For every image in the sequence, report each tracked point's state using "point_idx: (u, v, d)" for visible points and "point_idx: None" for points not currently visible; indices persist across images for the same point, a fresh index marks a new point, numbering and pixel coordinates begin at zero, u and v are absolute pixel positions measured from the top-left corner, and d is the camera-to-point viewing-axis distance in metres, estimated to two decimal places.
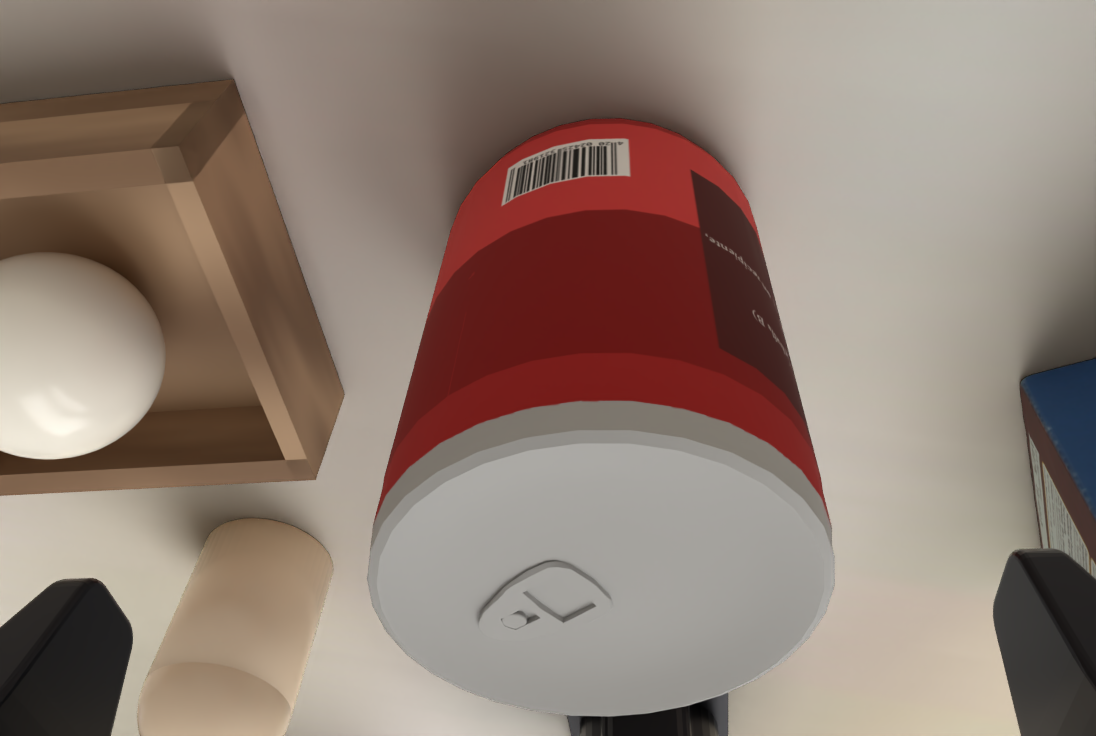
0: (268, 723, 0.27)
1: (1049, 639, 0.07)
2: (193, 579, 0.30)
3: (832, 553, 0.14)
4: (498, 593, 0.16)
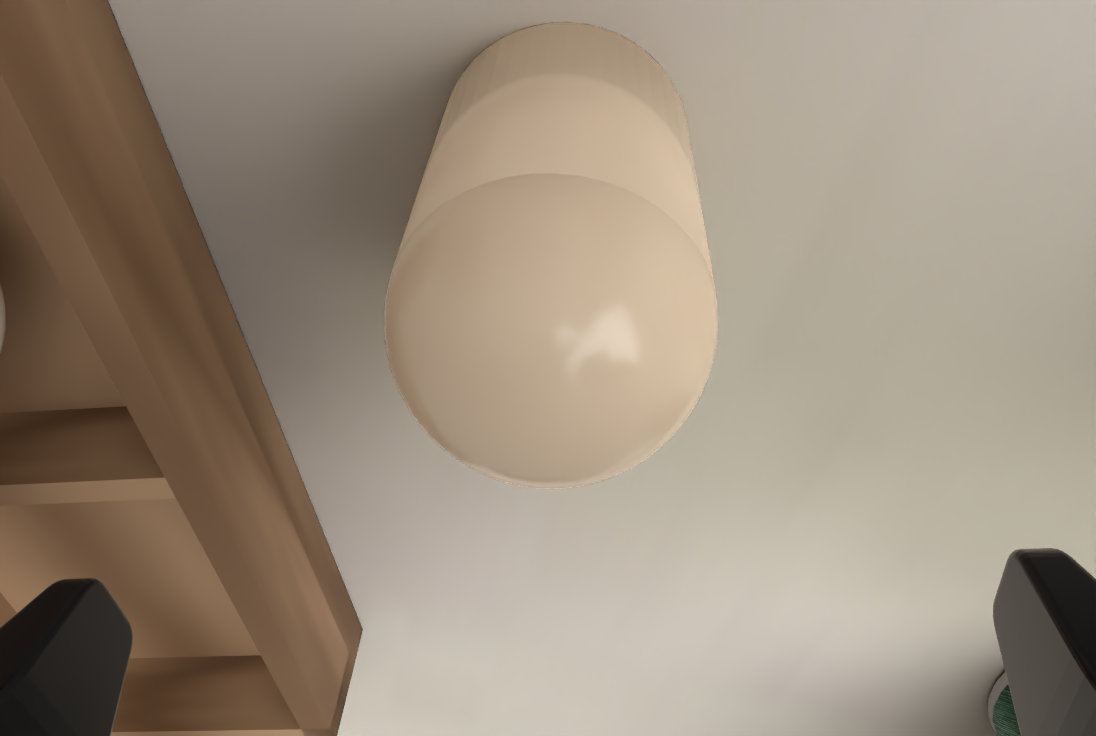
0: (496, 229, 0.11)
1: (1049, 638, 0.07)
2: None
3: None
4: None
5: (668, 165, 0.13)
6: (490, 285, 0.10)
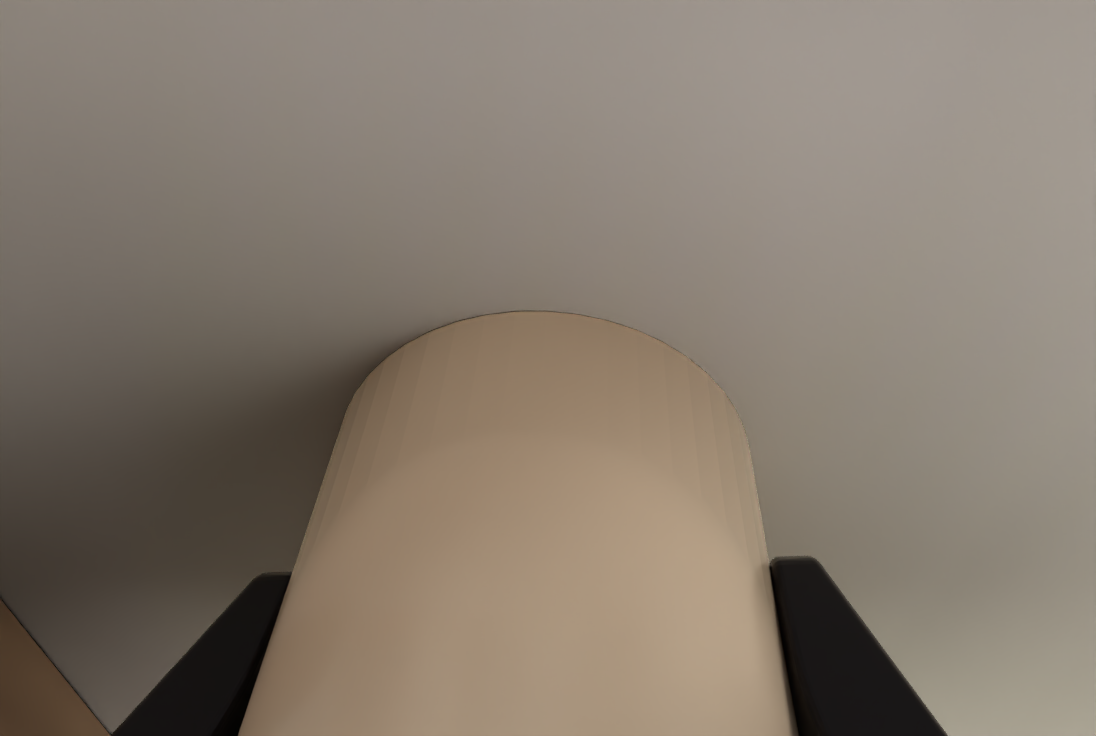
0: None
1: (785, 644, 0.08)
2: None
3: None
4: None
5: None
6: None
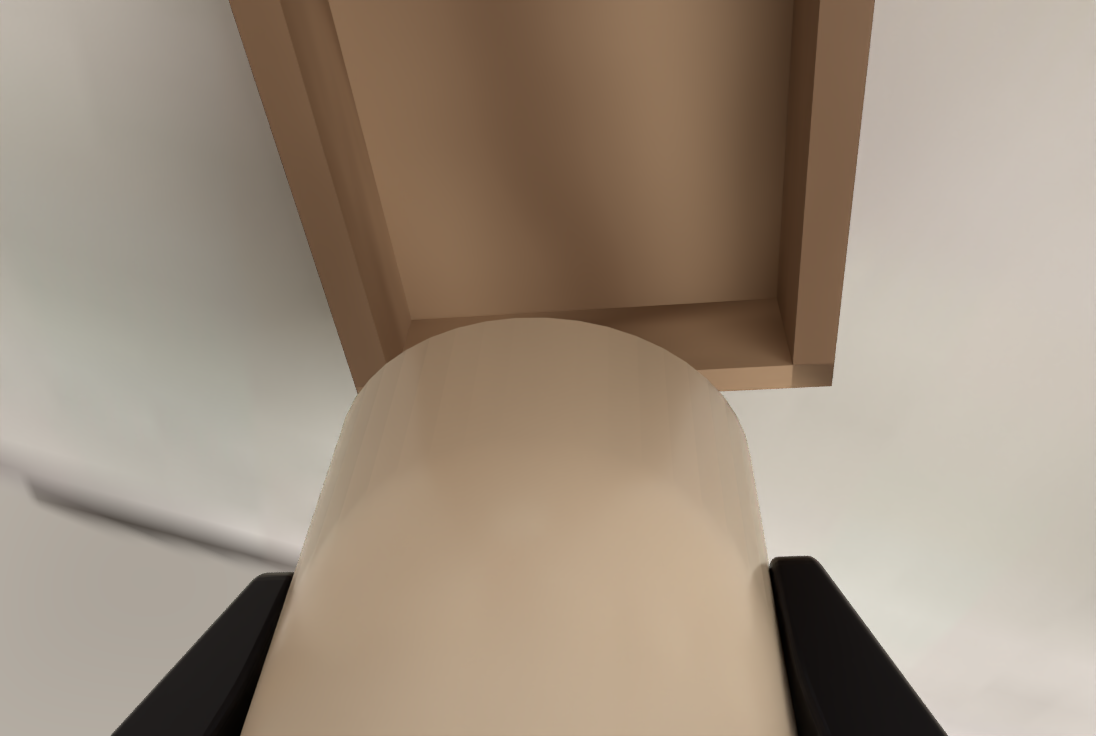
0: None
1: (786, 644, 0.08)
2: None
3: None
4: None
5: None
6: None
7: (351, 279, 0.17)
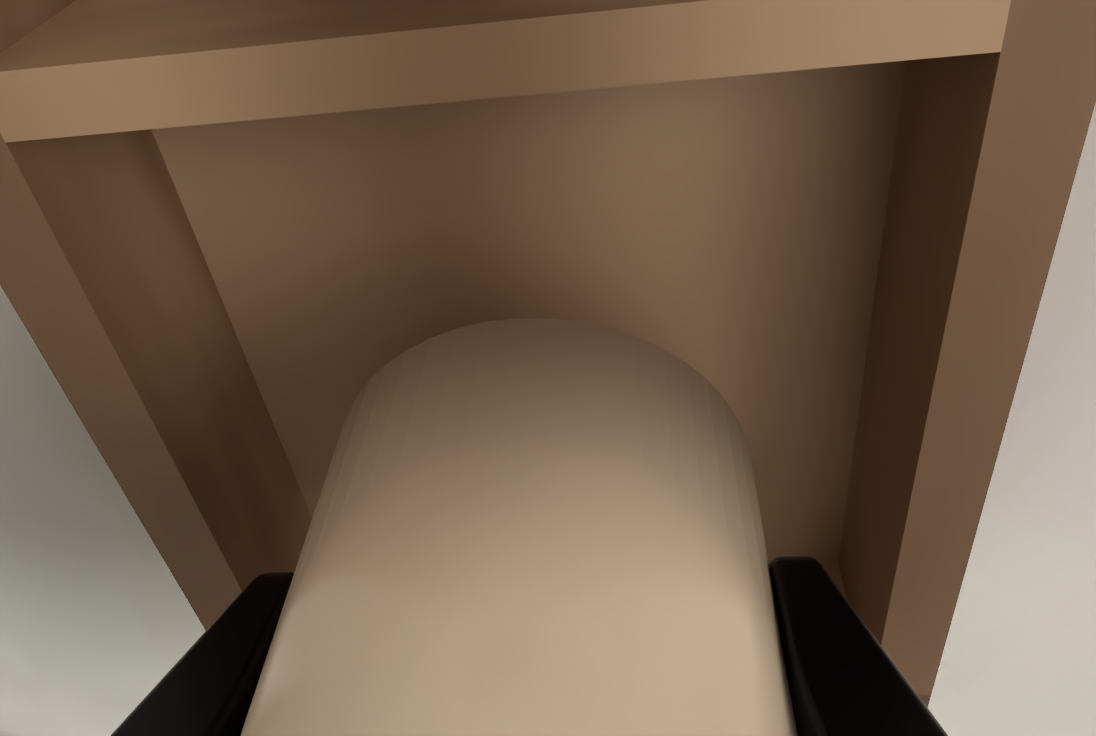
0: None
1: (785, 644, 0.08)
2: None
3: None
4: None
5: None
6: None
7: (227, 593, 0.12)
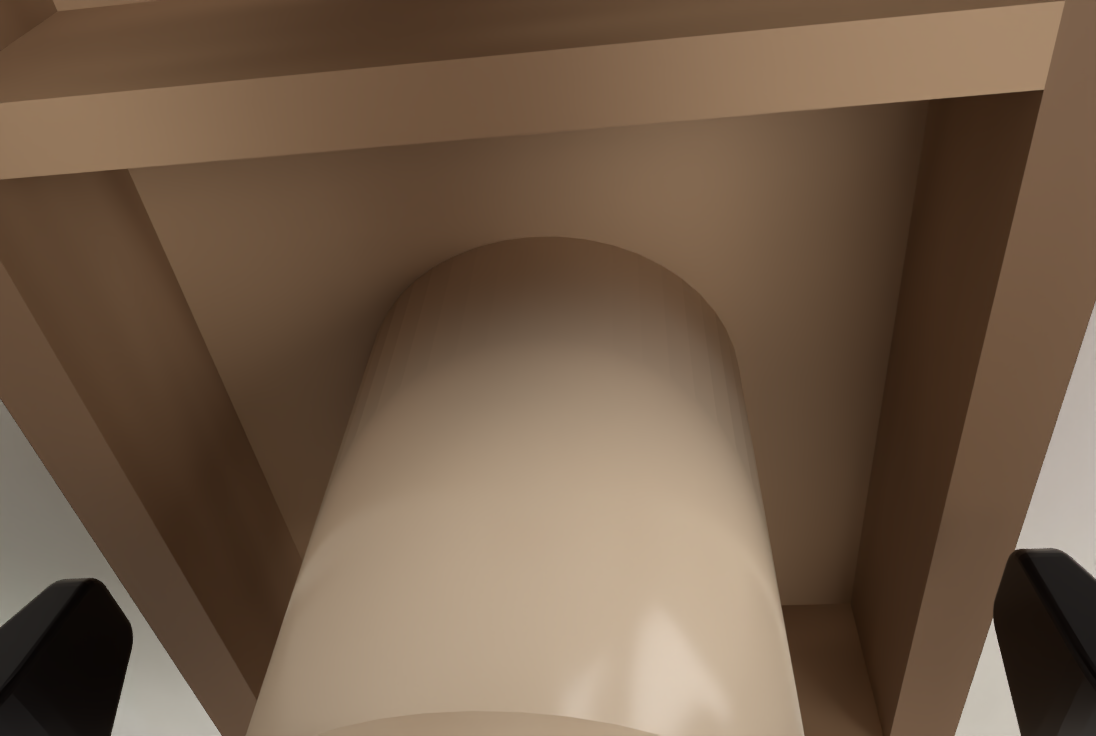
0: None
1: (1050, 639, 0.07)
2: None
3: None
4: None
5: (732, 579, 0.07)
6: None
7: (208, 644, 0.11)
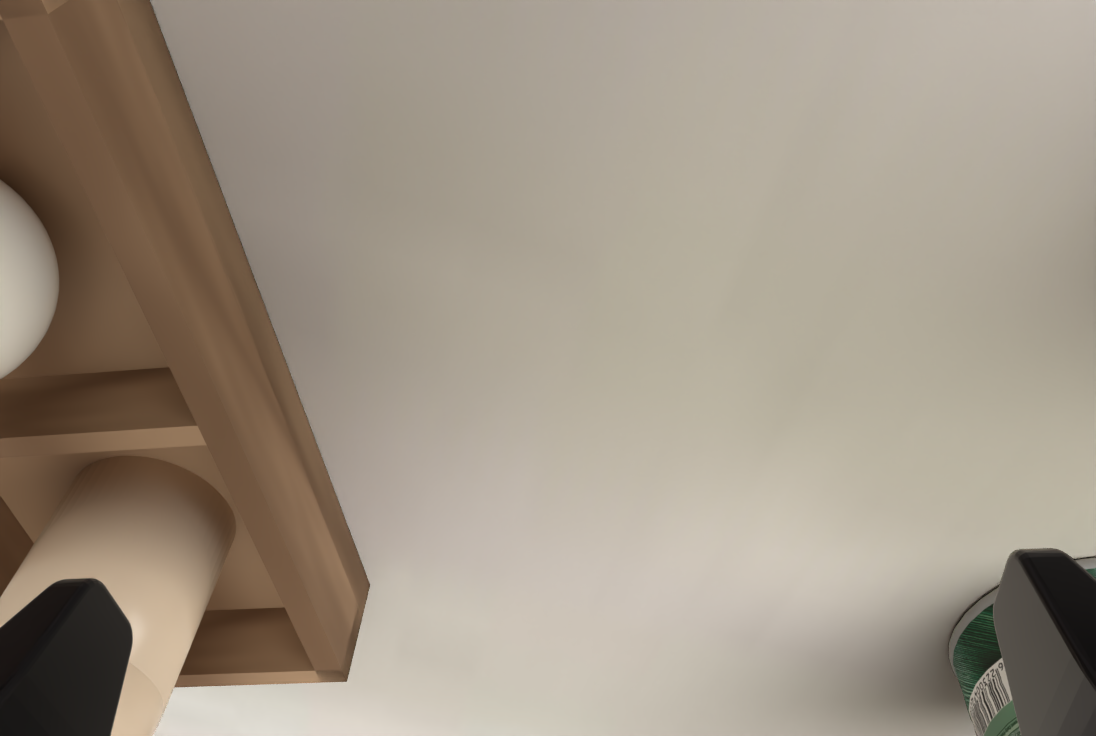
0: None
1: (1050, 639, 0.07)
2: None
3: None
4: None
5: (136, 594, 0.21)
6: None
7: None
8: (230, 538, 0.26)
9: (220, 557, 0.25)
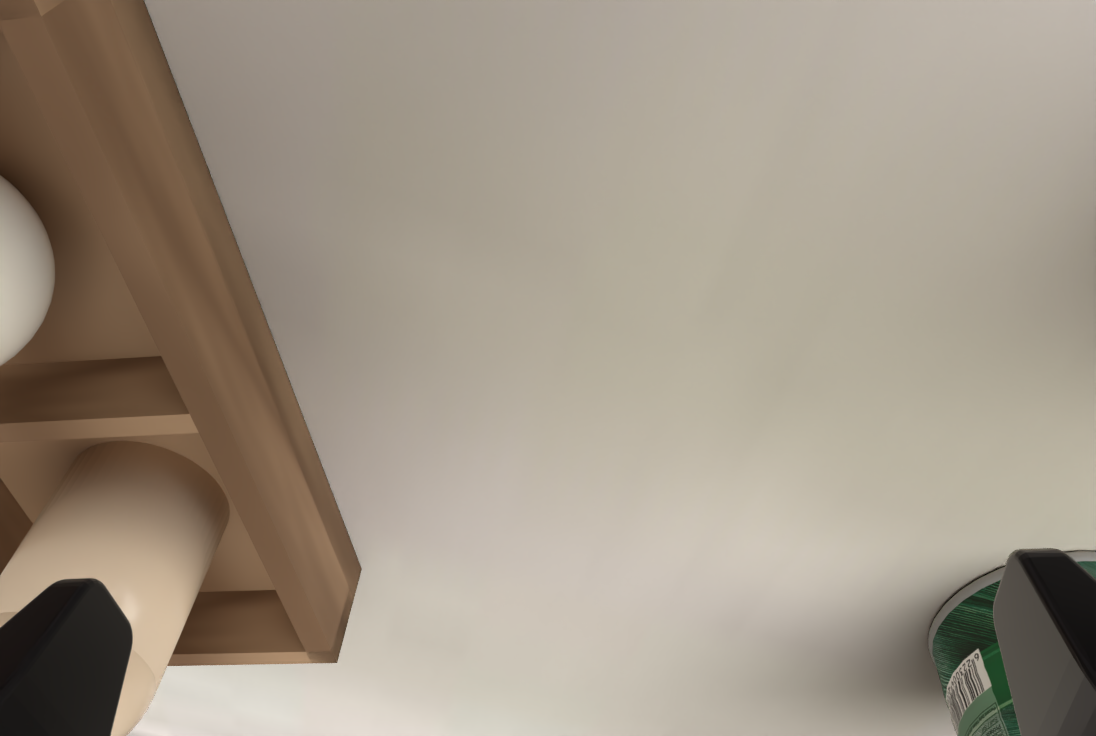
0: None
1: (1049, 639, 0.07)
2: None
3: None
4: None
5: (130, 576, 0.22)
6: None
7: None
8: (224, 522, 0.26)
9: (213, 541, 0.25)
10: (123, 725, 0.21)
